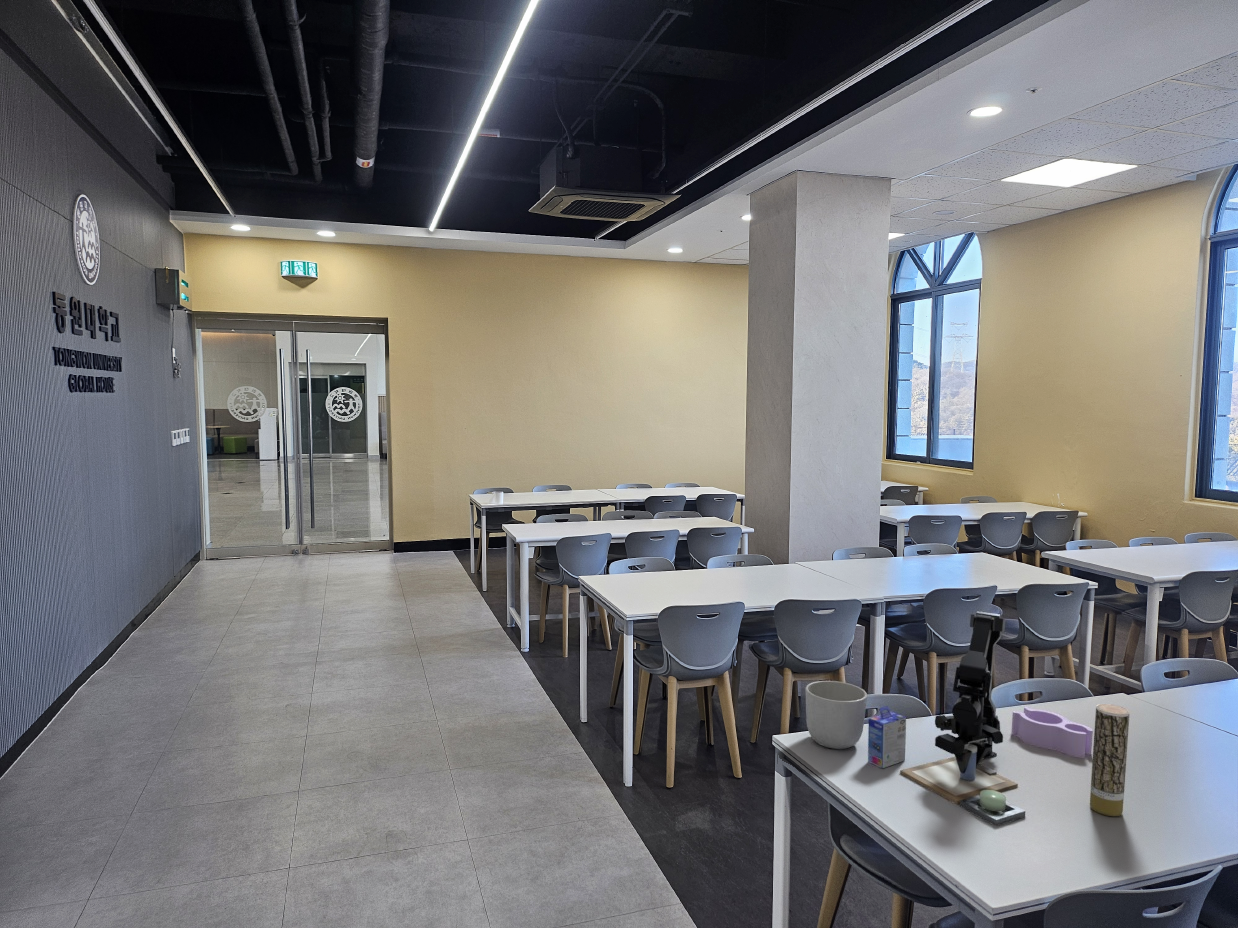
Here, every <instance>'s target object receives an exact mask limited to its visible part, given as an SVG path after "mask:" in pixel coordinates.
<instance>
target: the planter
mask: <svg viewBox="0 0 1238 928" xmlns="http://www.w3.org/2000/svg"><path fill="white" fill-rule="evenodd" d="M867 701H868V693H867V692H866V691H865V689H863V688H861V687H860V686H857V685H854V684H852V683H848V682H843V681H836V680H818V681H813V682H810V683H808V684H807V685H806V686H805V715H806V720H805V721H806V726H807V727H806V728H807V730H808V733H809V735H810V736H811V738H812V740H814V742H816V743H817V744H819V745H820V746H823V747H825V748H828V749H835V750H844V749H849V748H851V747H853V746H855V745H856V744H857V743H858V742H859V741H860V739H861V737H862V735H863V732H864V725H865V717H866V709H867V708H866V707H867Z"/></svg>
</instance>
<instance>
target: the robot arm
mask: <svg viewBox="0 0 1238 928" xmlns="http://www.w3.org/2000/svg"><path fill="white" fill-rule="evenodd" d="M969 627H970V628H972V634H971V639H970V643H969V646H968V647H969V648H968V651H967V653H966V654H965V655H963V656H962V657H961V659H960V662H959V665H956V669H955V673H954V681H953V688H952V692H955V693H958V695H959V696H958V698H957V700H956V702H955V703H954V705H953V707H952V710H951V713H952V715H947V716H946V715H945V714H942V715H941V714H939V715H935V717H934V718H935V719H934V724H935V727H936V729H939V730H940V731H941V732H944V731H951V734H953V735H951V734H950V733H945V734H940V735H937V736H936V737H934V738H935V739H934V746H935V747H937V748H939V749H940V750H943V751H945V752H947V753H949V754H952V755H954V757H956V760H957V764H958V767H959V770H960V772H961V773H963V774H964V773H965V771H966V768H967V765H968V762H969V759H970V756H971V753H972V751H970V750H968V745H969V743H970V744H973V745H975V746H977V754H976V768H977V767H978V765H979V764H981V762H982V760H984V759H988V758H992V757H995V756H996V757H997V754H998V753H996V752H995V751H993V744H995V745H998V744H1002V743H1004V734H1003V733H1002V732H1001V722H1000V720H999V717H998V715H996V714H997V713H996V711H997V708H996V706H995V704H994V702H993V700H992V697H991V696H992V682H993V671H994V670H993V669H994V657H995V646H996V644H997V643H998V642H999V641H1000V639H1001V638H1002V635H1003V633H1004V632H1005V628H1006V618H1003V617H1002V614H1001V613H996V612H995V613H994V612H989V611H982V610H976V613H970V619H969ZM954 735H957V737H956V736H954Z"/></svg>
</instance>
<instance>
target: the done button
mask: <svg viewBox="0 0 1238 928" xmlns="http://www.w3.org/2000/svg"><path fill="white" fill-rule="evenodd" d="M1006 801H1007V797H1006V795H1005V794H1004V793H1001V792H997V791H994V790H982V791H981V792H980V805H979V806H981V808H983V809H984V810H987V811H992V812H996V813H997V812H999V813H1000V812H1004V811H1006V810H1005V809H1006Z"/></svg>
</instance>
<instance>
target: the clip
mask: <svg viewBox="0 0 1238 928" xmlns="http://www.w3.org/2000/svg"><path fill="white" fill-rule="evenodd" d="M1011 715H1012V718H1011V735H1012V736H1016V737H1018V739H1020V740H1021V741H1022V742H1024V743H1026V744H1029V745H1031V746H1035V747H1038V748H1042V749H1048V750H1049V749H1050V750H1055V751H1059V752H1061V753H1063V754H1064V755H1068V756H1071V757H1074V758H1086V754H1087V755H1092V752H1093V751H1092V749H1093V747H1092V746H1093V737H1094V733H1093V732H1094V730H1093V729H1092V728H1091V727H1089V726H1087V725H1084V724H1081V723H1078V722H1074V721H1071V720H1069V719H1068V718H1066V717H1065V716H1063V715H1061V714H1058V713H1056V712H1052V711H1048V710H1044V709H1035V708H1030V707H1029V706H1023V712H1022V711H1017V710H1016V711H1014V710H1013V711H1012V714H1011Z"/></svg>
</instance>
